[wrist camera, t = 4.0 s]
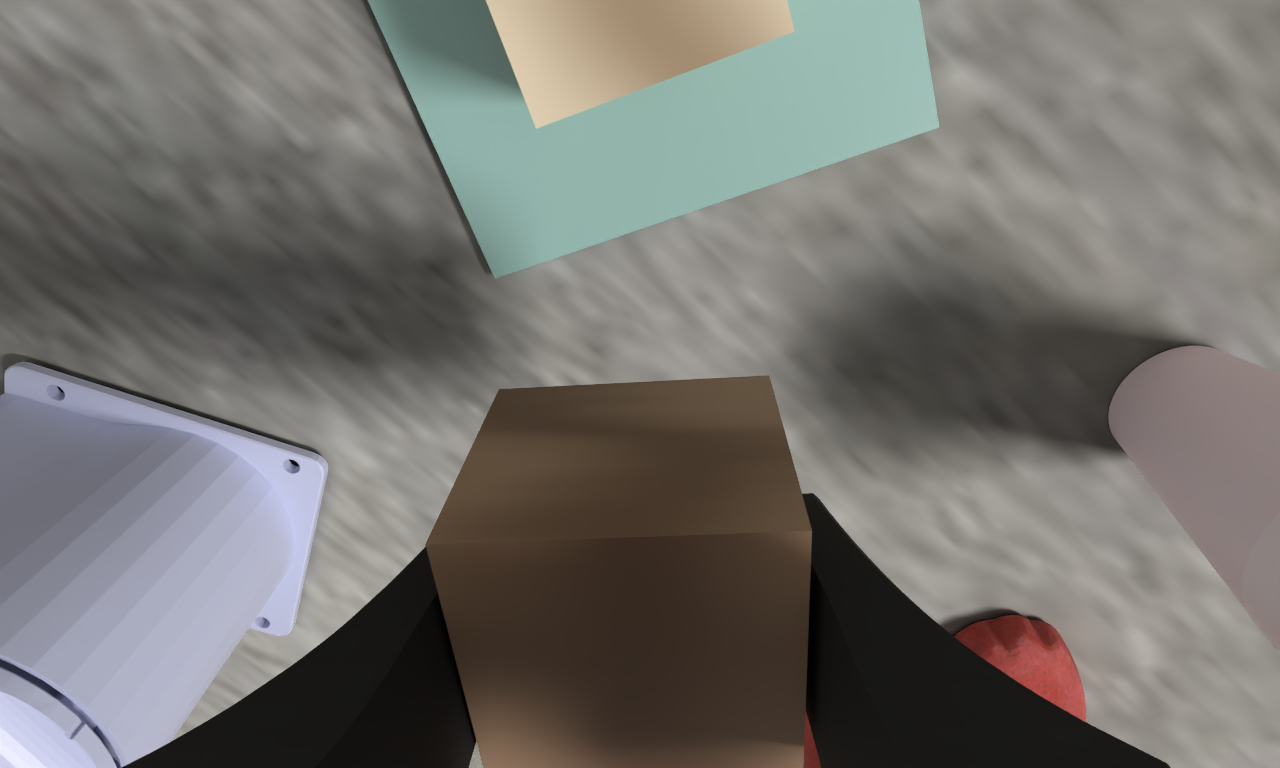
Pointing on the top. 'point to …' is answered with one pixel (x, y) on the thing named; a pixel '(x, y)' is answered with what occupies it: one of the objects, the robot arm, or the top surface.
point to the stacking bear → (1014, 664)
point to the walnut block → (630, 578)
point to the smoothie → (1212, 462)
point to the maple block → (622, 44)
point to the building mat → (654, 122)
